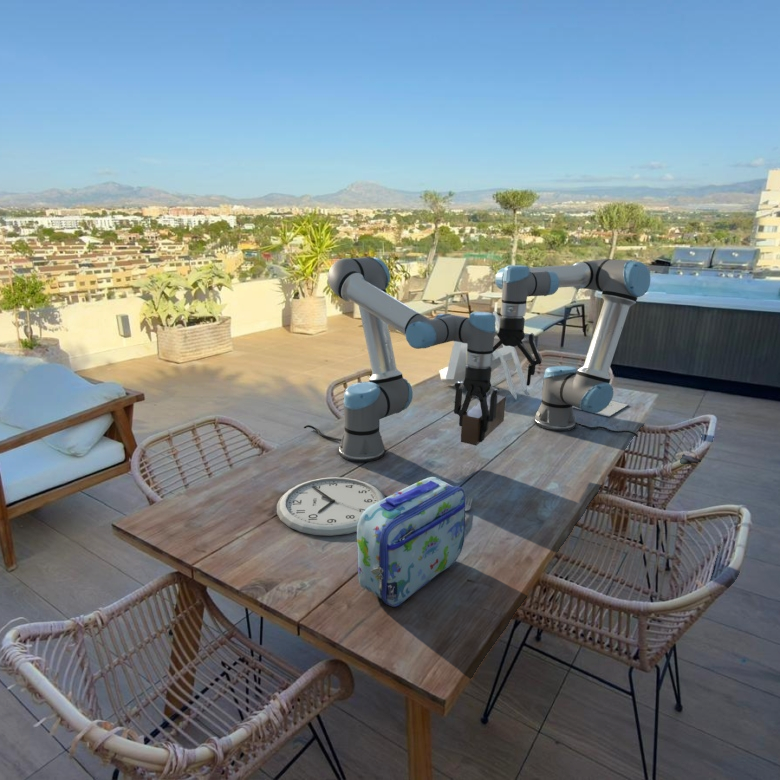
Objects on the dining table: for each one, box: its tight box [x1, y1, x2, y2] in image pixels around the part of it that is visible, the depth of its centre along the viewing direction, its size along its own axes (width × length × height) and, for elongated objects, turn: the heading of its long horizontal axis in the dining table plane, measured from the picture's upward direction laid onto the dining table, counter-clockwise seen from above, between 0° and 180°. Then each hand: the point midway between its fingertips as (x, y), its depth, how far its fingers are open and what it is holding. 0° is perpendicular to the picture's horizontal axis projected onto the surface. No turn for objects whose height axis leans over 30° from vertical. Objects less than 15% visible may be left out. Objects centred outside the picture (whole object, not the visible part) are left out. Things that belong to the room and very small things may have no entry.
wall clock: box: [276, 476, 386, 537], centre depth 142 cm, size 30×2×30 cm
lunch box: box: [356, 476, 466, 608], centre depth 110 cm, size 26×11×21 cm, turn 134°
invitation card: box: [573, 400, 629, 418], centre depth 226 cm, size 21×1×15 cm
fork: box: [465, 496, 473, 512], centre depth 138 cm, size 3×16×2 cm, turn 160°
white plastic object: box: [438, 310, 531, 400], centre depth 245 cm, size 37×45×31 cm
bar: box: [460, 393, 507, 447], centre depth 167 cm, size 25×5×9 cm, turn 149°
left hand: (472, 438), depth 161 cm, fingers closed on bar, 5 cm apart
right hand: (506, 382), depth 169 cm, fingers open, 13 cm apart
